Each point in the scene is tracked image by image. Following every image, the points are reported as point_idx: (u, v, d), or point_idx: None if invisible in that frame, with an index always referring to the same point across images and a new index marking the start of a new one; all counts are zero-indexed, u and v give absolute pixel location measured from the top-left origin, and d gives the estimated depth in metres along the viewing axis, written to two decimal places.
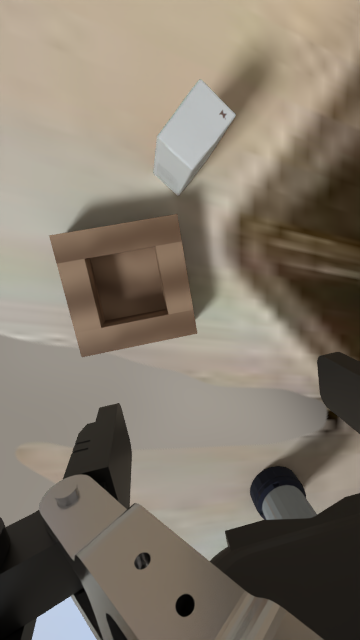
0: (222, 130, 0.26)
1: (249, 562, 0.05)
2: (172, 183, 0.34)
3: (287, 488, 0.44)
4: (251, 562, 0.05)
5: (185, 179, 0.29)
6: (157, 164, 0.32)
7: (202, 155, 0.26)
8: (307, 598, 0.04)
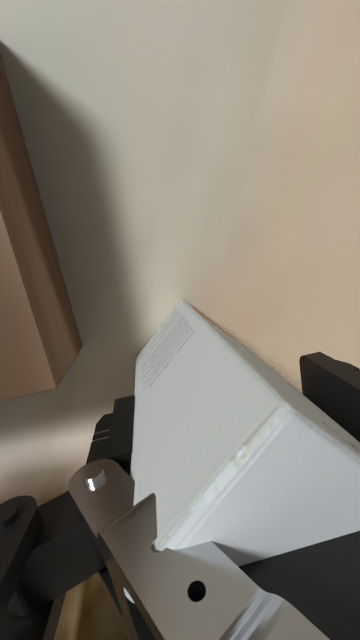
0: None
1: None
2: (151, 358, 0.13)
3: None
4: None
5: (133, 448, 0.08)
6: (191, 325, 0.11)
7: None
8: (307, 598, 0.04)
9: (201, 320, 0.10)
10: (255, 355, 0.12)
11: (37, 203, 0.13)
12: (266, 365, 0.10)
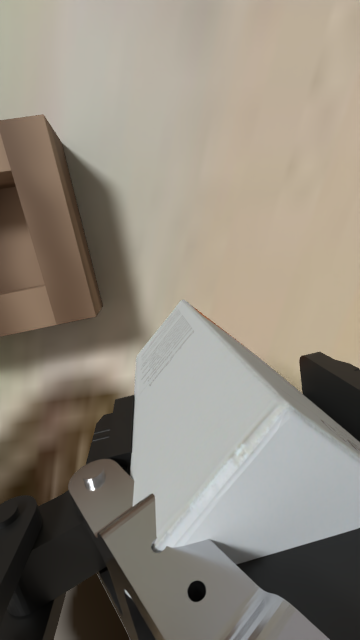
0: None
1: (249, 562, 0.05)
2: (151, 357, 0.13)
3: None
4: (251, 562, 0.05)
5: (133, 446, 0.08)
6: (191, 325, 0.11)
7: None
8: (307, 598, 0.04)
9: (201, 319, 0.10)
10: None
11: (81, 227, 0.25)
12: (265, 364, 0.10)
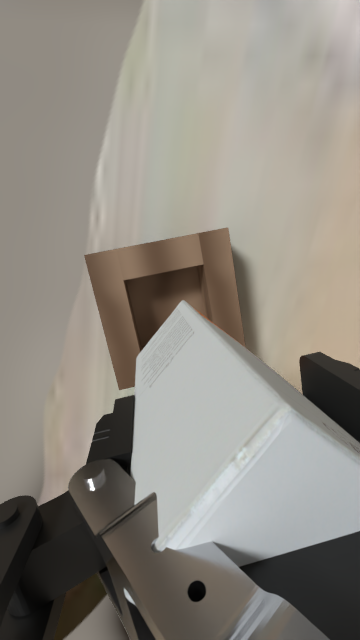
0: None
1: None
2: (151, 358, 0.13)
3: None
4: None
5: (133, 448, 0.08)
6: (191, 326, 0.11)
7: None
8: (307, 598, 0.04)
9: (201, 321, 0.10)
10: None
11: None
12: (266, 366, 0.10)
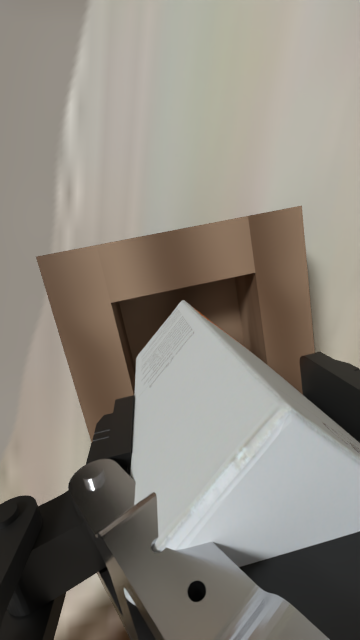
0: None
1: None
2: (151, 358, 0.13)
3: None
4: None
5: (133, 448, 0.08)
6: (191, 325, 0.11)
7: None
8: (307, 598, 0.04)
9: (201, 320, 0.10)
10: None
11: None
12: (266, 365, 0.10)
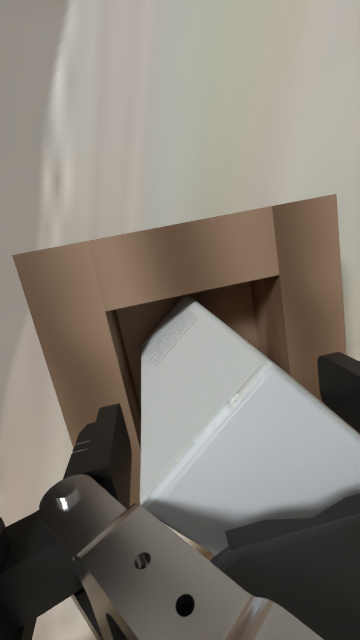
0: None
1: (249, 562, 0.05)
2: (156, 344, 0.14)
3: None
4: (251, 562, 0.05)
5: (142, 413, 0.10)
6: (194, 314, 0.12)
7: (196, 539, 0.06)
8: (307, 598, 0.04)
9: (203, 309, 0.12)
10: None
11: None
12: None
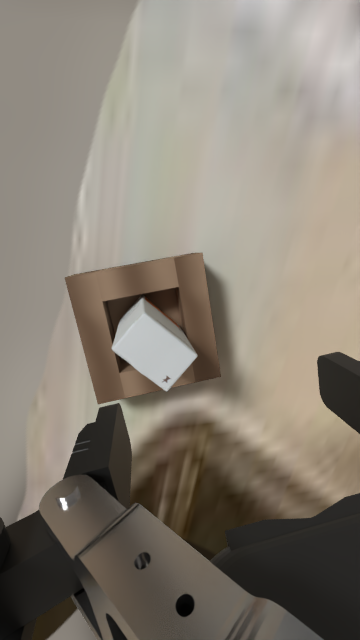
0: (151, 379, 0.24)
1: (249, 562, 0.05)
2: (125, 317, 0.32)
3: None
4: (251, 562, 0.05)
5: (115, 336, 0.27)
6: (139, 303, 0.30)
7: (126, 360, 0.24)
8: (307, 598, 0.04)
9: (142, 301, 0.29)
10: (166, 317, 0.31)
11: None
12: (164, 317, 0.29)
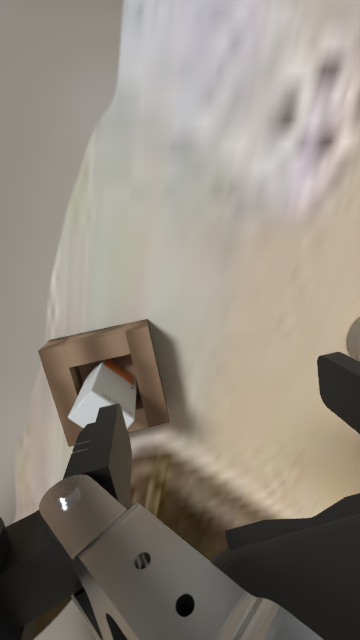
0: None
1: (249, 562, 0.05)
2: (88, 377, 0.39)
3: None
4: (251, 562, 0.05)
5: (75, 401, 0.35)
6: (97, 369, 0.38)
7: (79, 425, 0.32)
8: (307, 598, 0.04)
9: (99, 368, 0.37)
10: (120, 378, 0.39)
11: None
12: (116, 382, 0.37)
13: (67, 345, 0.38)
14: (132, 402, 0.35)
